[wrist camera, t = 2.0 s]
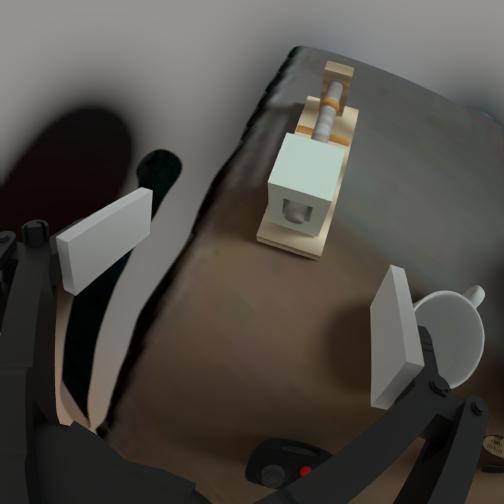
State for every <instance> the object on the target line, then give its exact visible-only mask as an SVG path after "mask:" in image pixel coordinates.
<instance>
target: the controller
mask: <svg viewBox="0 0 504 504" xmlns="http://www.w3.org/2000/svg"><path fill="white" fill-rule="evenodd" d="M332 456H334V455H332V454H330V453H329V452H327V451H325V450H323V449H320V448H318V447H315V446H312V445H309V444H305V443H301V442H297V441H290V440H269V441H265V442H263V443H261V444H260V445H259V446H258V447H257V448H256V449H255V450H252V449H251V450H250V452H249V455H248V458H247V461H246V465H247V467H246V470H245V477H246V479H247V480H248V481H250V482H252V483H255V484H258V485H262V486H266V487H268V488H274V489H278V490H280V489H283V488H285V487H287V486H288V485H290V484H292V483H293V482H295V481H296V480H298V479H300V478H301V477H303V476H304V475H306V474H307V473H309V472H310V471H312V470H313V469H315V468H316V467H318V466H319V465H321V464H322V463H324V462H325V461H327V460H328V459H329V458H331V457H332Z"/></svg>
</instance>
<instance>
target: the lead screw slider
mask: <svg viewBox="0 0 504 504" xmlns="http://www.w3.org/2000/svg"><path fill="white" fill-rule="evenodd" d="M353 71H354V68H352V67H349V66H345V65H342V64H338V63H334V62H331V61H327V64H326V67H325V71H324V78H323V85H322V91H321V98H320V99H319V98H315V97H311V96H308V98H307V100H306V103H305V106H304V109H303V111H302V114H301V117H300V119H299V122H298V125H297V127H296V130H295V133H294V135H298V136H301V137H305V138H309V139H312V140H316V141H319V142H323V143H326V144H329V145H332V146H336V147H339V148H342V149H345V154H344V158H343V162H342V166H341V169H340V173H339V177H338V181H337V184H336V188H335V192H334V195H333V199H332V202H331V205H330V208H329V210H328V213H327V215H326V218H325V220H324V223H323V226H322V228H321V231H320V233H319V236H318V237H315V236H312V235H309V234H306V233H303V232H300V231H296V230H293V229H290V228H287V227H284V226H281V225H277V224H274V223H271V222H270V220H269V203H268V205H267V208H266V211H265V214H264V216H263V219H262V222H261V224H260V227H259V230H258V232H257V235H256V237H257V241H259V242H262V243H265V244H268V245H272V246H275V247H278V248H281V249H284V250H287V251H290V252H293V253H296V254H299V255H302V256H306V257H309V258H312V259H315V260H318V261H319V259H320V257H321V254H322V250H323V247H324V244H325V240H326V237H327V233H328V230H329V226H330V223H331V219H332V216H333V212H334V209H335V205H336V201H337V198H338V194H339V190H340V186H341V182H342V179H343V175H344V171H345V167H346V163H347V159H348V155H349V151H350V146H351V142H352V138H353V134H354V129H355V125H356V121H357V116H358V112H359V110H357V109H353V108H350V107H347V106H345V104H346V100H347V96H348V92H349V88H350V84H351V79H352V75H353ZM307 209H308V206H307V205H304V204H301V203H297V202H294V201H291V200H290V202H289V204H288V207H287V210H286V213H285V216H284V217H285V219H286V220H288V221H289V222H292V223H295V224H302V223H303V222H304V219H305V216H306V212H307Z"/></svg>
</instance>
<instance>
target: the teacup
mask: <svg viewBox="0 0 504 504" xmlns="http://www.w3.org/2000/svg"><path fill="white" fill-rule="evenodd" d="M484 296H485V293H484V290H483V289H482V288H481V287H480V286H478V285H475V286H473V287H471V288H470V289H468V290H467V291H466V292H465V293H464V294H463V295H460V294H458V293H456V292H452V291H437V292H434V293H431V294H429V295H427V296H425V297H424V298H423V299H421V300H419V301H417V302H416V303H414V304H413V308H414V313H415V317H416V322H417V325H419V326H423V327H426V329H427V331H428V332H429V334H430V335H431V338H432V343H433V347H434V353H435V357H436V362H437V367H438V372H439V375H440V376H441V377H443V378H444V379H445V380H446V381H447V382H448V384H449V386H450V388H451V389H452V388H455V387H457V386H459V385H460V384H462V383H463V382H465V381H466V380H467V379H468V378H469V377H470V376H471V375H472V374H473V372H474V370H475V369H476V367H477V365H478V363H479V361H480V359H481V356H482V353H483V347H484V329H483V324H482V321H481V318H480V316H479V314H478V312H477V310H476V308H477V307H478V306H479V304H480V303H481V302H482V301H483V299H484Z"/></svg>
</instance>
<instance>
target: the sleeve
mask: <svg viewBox="0 0 504 504" xmlns="http://www.w3.org/2000/svg"><path fill="white" fill-rule="evenodd" d="M344 154H345V149H342V148H339V147H336V146H332V145H329V144H326V143H323V142H319V141H316V140H312V139H309V138H305V137H301V136H298V135H294V134H290V133H287V134H286V136H285V139H284V141H283V144H282V146H281V149H280V152H279V154H278V157H277V159H276V162H275V165H274V167H273V170H272V172H271V175H270V178H269V180H268V197H269V220H270V222H271V223H274V224H277V225H281V226H284V227H287V228H290V229H293V230H296V231H300V232H303V233H306V234H309V235H312V236H315V237H318V236H319V233H320V231H321V228H322V226H323V223H324V220H325V218H326V215H327V213H328V210H329V208H330V205H331V202H332V199H333V195H334V192H335V188H336V184H337V181H338V177H339V173H340V169H341V166H342V162H343V158H344ZM290 200H291V201H294V202H297V203H301V204H304V205H307V206H308V209H307V212H306V216H305V219H304V222H303V223H302V224H295V223H292V222H289V221H288V220H286V219H285V217H284V216H285V213H286V210H287V207H288V204H289V202H290Z"/></svg>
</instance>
